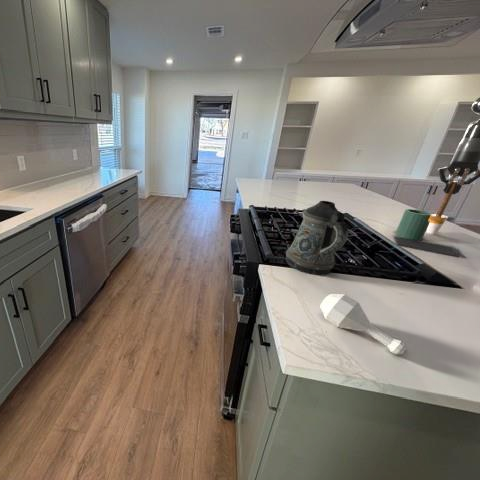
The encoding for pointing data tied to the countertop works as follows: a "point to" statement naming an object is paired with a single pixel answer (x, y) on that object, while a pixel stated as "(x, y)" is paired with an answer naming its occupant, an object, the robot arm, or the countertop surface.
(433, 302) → the countertop surface
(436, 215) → the brush
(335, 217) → the beer stein
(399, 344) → the chicken leg
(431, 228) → the smoothie
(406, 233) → the jar
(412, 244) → the drying mat
